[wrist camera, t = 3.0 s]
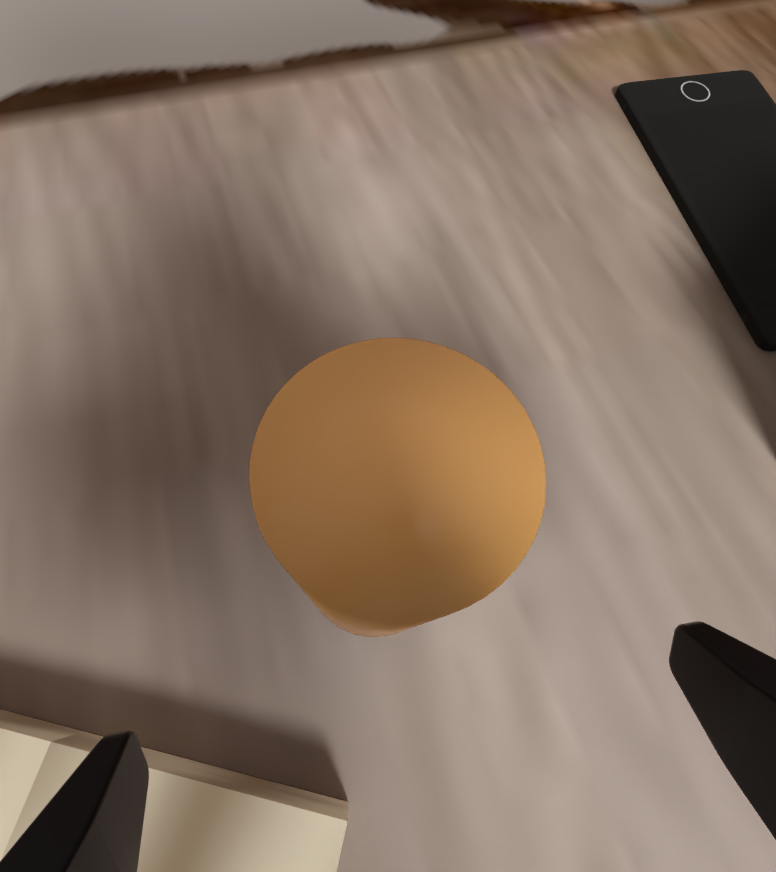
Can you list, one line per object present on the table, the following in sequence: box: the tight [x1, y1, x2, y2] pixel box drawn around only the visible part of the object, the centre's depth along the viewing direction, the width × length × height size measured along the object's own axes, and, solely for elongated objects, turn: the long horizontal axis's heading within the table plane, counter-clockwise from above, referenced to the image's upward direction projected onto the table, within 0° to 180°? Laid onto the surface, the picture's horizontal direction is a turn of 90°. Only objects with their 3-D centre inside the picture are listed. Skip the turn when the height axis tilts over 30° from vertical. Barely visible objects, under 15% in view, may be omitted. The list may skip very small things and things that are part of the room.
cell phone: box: [615, 70, 776, 351], centre depth 28 cm, size 9×18×1 cm, turn 14°
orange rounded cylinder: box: [249, 338, 546, 637], centre depth 14 cm, size 4×4×12 cm
